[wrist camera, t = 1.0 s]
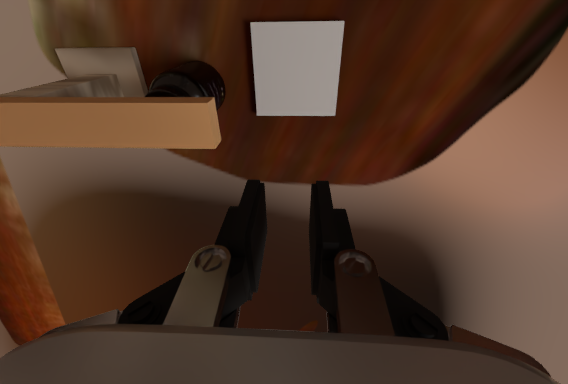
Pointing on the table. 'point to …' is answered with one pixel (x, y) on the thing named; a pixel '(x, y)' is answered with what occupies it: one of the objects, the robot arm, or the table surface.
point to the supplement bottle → (189, 83)
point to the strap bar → (109, 122)
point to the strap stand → (93, 75)
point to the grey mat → (296, 67)
